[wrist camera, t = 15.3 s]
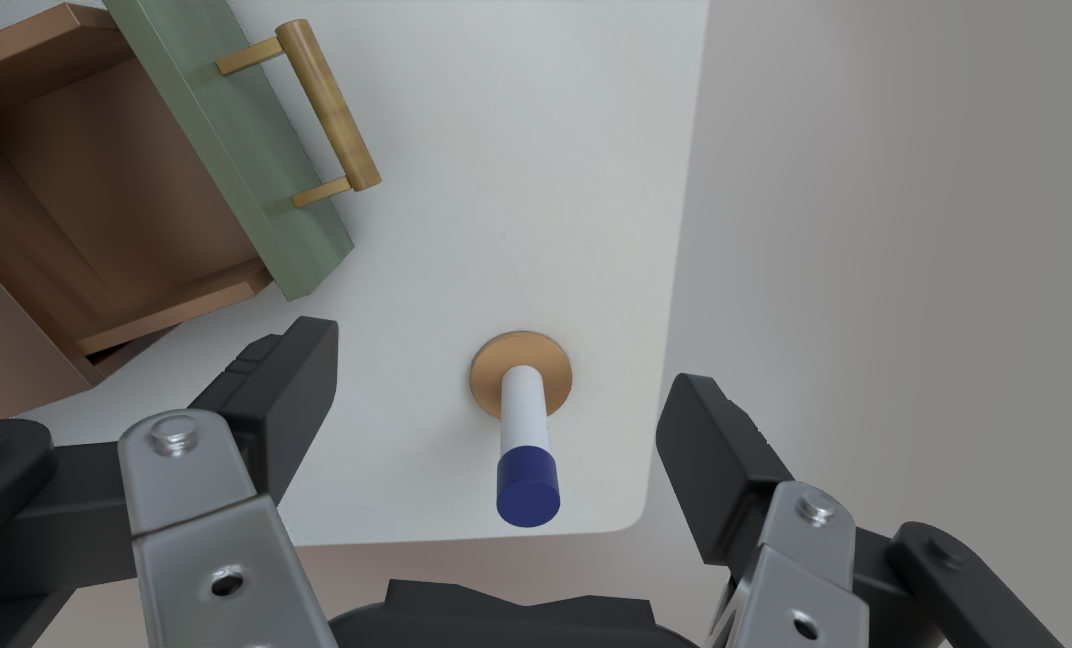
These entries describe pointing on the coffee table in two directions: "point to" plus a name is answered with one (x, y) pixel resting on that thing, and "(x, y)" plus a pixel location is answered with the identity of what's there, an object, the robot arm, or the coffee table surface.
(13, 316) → the cabinet
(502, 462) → the glue stick
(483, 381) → the coaster
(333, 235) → the drawer
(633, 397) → the coffee table surface
